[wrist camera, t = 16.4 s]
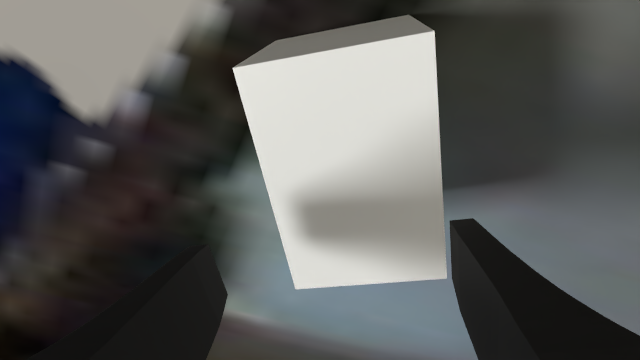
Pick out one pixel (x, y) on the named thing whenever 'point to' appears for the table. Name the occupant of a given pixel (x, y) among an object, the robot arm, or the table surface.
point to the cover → (351, 151)
